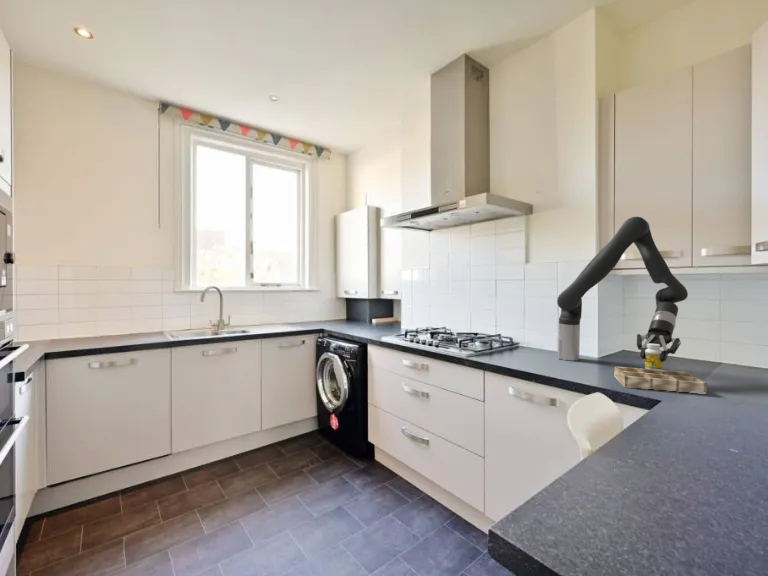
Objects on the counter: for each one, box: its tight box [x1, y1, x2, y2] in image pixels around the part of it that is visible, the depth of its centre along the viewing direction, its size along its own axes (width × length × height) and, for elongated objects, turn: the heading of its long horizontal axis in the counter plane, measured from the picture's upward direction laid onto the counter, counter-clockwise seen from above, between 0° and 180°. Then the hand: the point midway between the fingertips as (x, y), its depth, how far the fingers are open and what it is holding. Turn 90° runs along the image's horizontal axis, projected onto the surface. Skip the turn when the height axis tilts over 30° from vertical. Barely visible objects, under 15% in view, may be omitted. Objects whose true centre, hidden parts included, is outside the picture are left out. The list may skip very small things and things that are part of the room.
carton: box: [613, 366, 708, 392], centre depth 134 cm, size 24×16×4 cm
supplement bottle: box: [644, 344, 664, 371], centre depth 137 cm, size 5×5×10 cm
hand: (652, 359), depth 136 cm, fingers closed on supplement bottle, 5 cm apart
